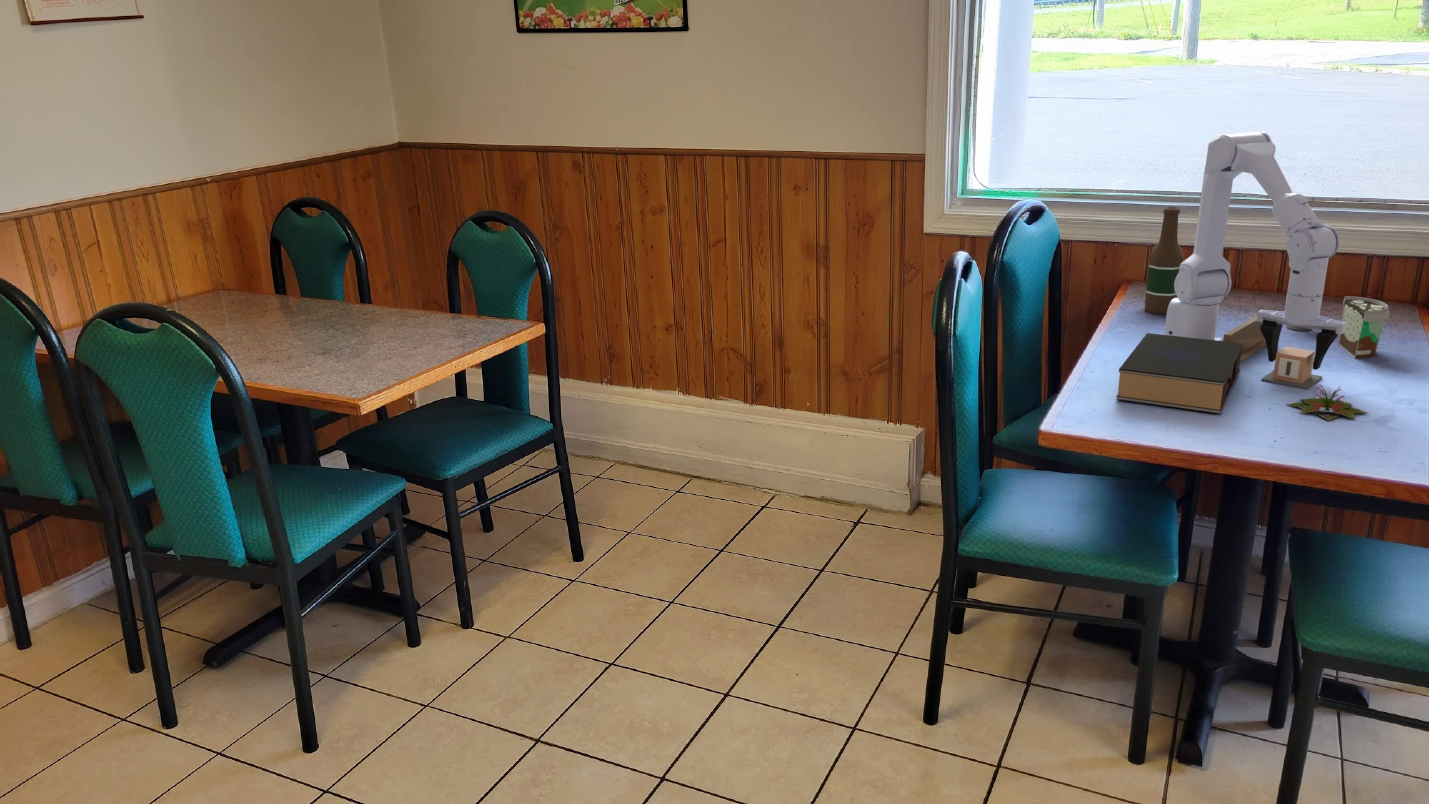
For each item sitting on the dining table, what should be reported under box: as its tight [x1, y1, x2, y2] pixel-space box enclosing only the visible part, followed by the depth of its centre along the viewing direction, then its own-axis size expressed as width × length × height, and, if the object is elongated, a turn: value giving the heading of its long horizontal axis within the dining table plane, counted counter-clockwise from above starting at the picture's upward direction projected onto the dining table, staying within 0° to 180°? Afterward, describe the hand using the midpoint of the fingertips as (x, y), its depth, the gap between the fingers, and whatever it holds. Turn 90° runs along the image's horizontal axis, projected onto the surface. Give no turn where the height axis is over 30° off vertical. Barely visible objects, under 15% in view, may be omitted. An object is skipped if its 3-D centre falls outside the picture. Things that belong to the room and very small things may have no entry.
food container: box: [1337, 295, 1390, 359], centre depth 208 cm, size 12×6×10 cm, turn 168°
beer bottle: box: [1144, 206, 1184, 315], centre depth 240 cm, size 8×8×24 cm
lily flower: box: [1285, 384, 1369, 421], centre depth 181 cm, size 12×12×5 cm
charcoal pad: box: [1260, 369, 1323, 390], centre depth 196 cm, size 8×8×1 cm
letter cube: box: [1273, 346, 1316, 384], centre depth 195 cm, size 5×5×5 cm
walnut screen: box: [1222, 314, 1267, 363], centre depth 210 cm, size 3×20×6 cm, turn 135°
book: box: [1115, 332, 1243, 414], centre depth 194 cm, size 17×25×7 cm
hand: (1293, 364), depth 195 cm, fingers open, 7 cm apart
